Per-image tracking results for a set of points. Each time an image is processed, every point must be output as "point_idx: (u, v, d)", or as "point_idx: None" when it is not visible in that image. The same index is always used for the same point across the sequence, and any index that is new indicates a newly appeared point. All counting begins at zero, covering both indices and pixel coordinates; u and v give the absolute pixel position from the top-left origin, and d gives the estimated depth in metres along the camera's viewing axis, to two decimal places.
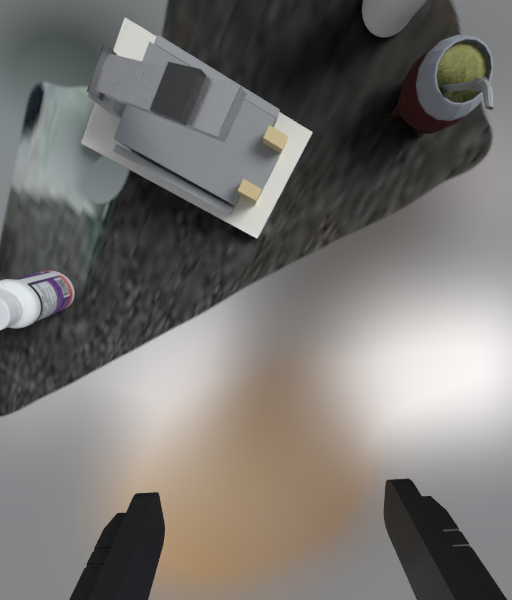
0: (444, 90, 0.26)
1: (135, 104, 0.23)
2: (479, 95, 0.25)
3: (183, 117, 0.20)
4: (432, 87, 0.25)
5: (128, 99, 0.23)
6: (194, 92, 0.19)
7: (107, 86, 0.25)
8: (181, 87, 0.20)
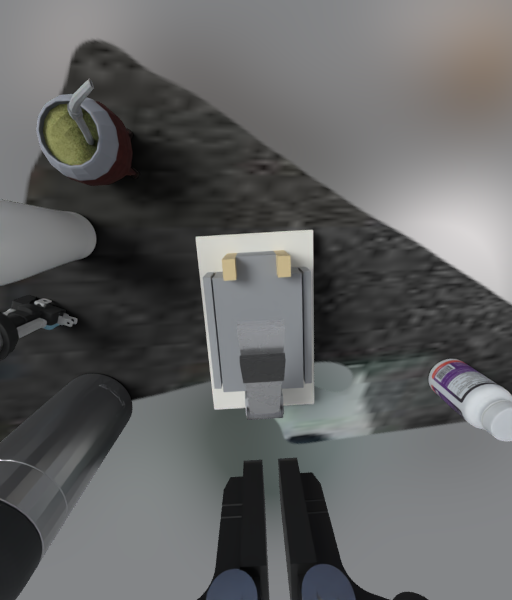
0: (92, 140, 0.24)
1: (280, 388, 0.27)
2: None
3: (280, 358, 0.21)
4: (100, 155, 0.24)
5: (278, 393, 0.27)
6: (257, 359, 0.21)
7: (274, 407, 0.30)
8: (258, 368, 0.22)
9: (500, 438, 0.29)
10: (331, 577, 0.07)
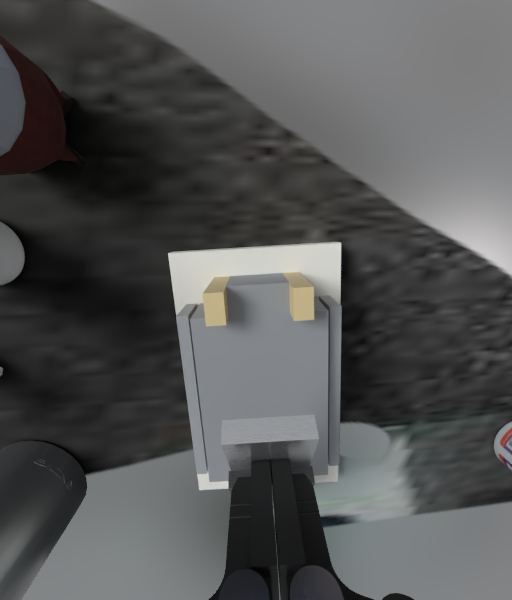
0: None
1: None
2: None
3: None
4: None
5: None
6: None
7: None
8: None
9: None
10: (320, 578, 0.07)
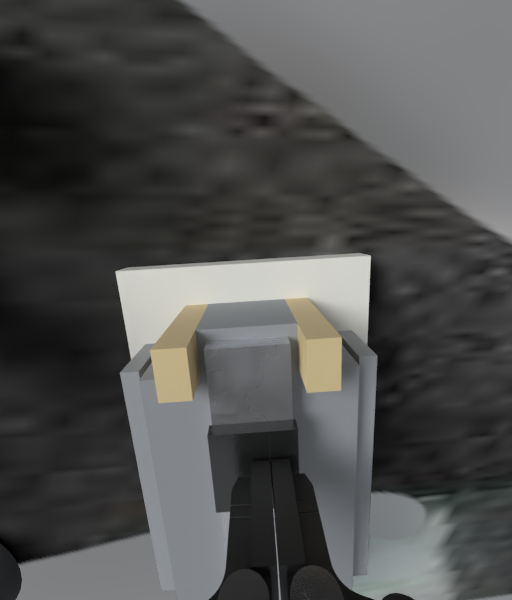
0: None
1: None
2: None
3: (288, 426, 0.11)
4: None
5: None
6: (243, 429, 0.11)
7: None
8: (246, 458, 0.11)
9: None
10: (320, 578, 0.07)
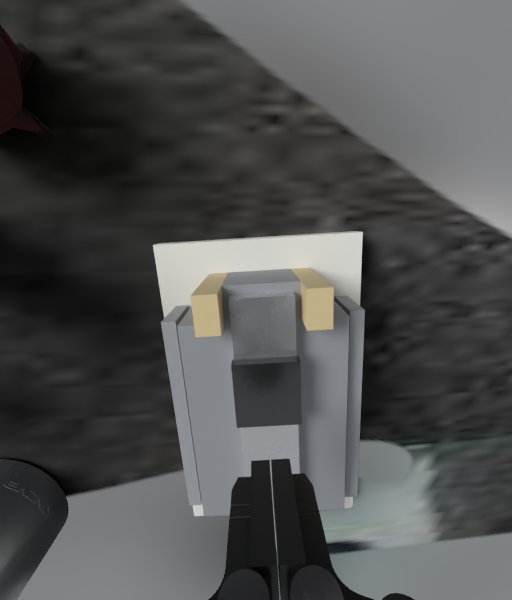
0: None
1: (298, 462, 0.16)
2: None
3: (293, 360, 0.14)
4: None
5: None
6: (258, 361, 0.14)
7: None
8: (260, 384, 0.14)
9: None
10: (320, 578, 0.07)
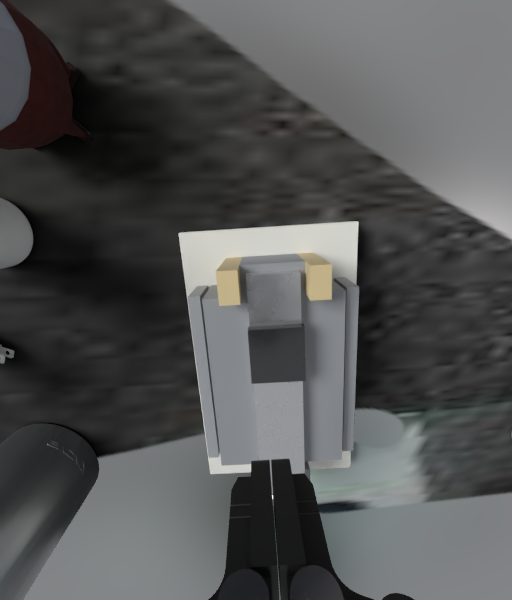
0: None
1: (302, 415, 0.19)
2: None
3: (298, 326, 0.17)
4: None
5: (300, 430, 0.20)
6: (270, 327, 0.17)
7: None
8: (271, 346, 0.17)
9: None
10: (320, 578, 0.07)
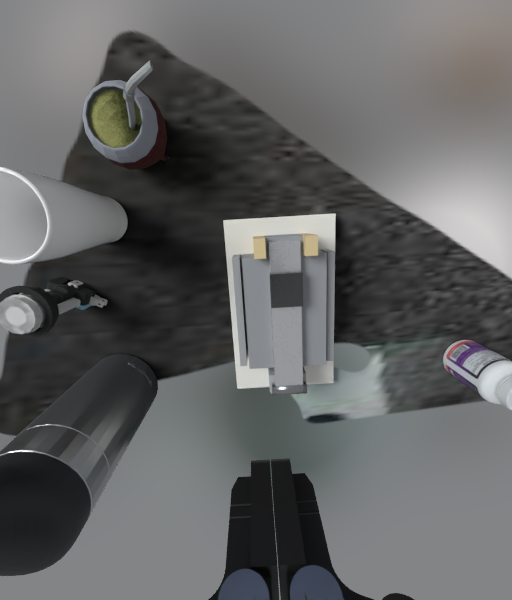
0: (135, 124, 0.25)
1: (301, 331, 0.32)
2: (117, 85, 0.24)
3: (299, 272, 0.30)
4: (142, 138, 0.25)
5: (300, 340, 0.32)
6: (282, 273, 0.30)
7: (297, 371, 0.33)
8: (283, 284, 0.30)
9: None
10: (320, 578, 0.07)
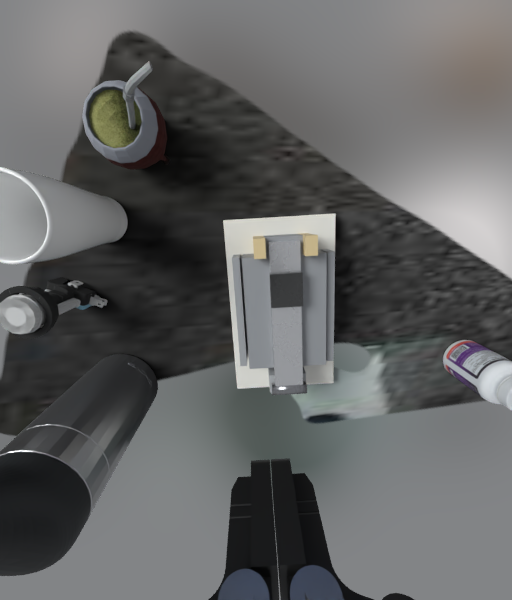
0: (135, 124, 0.25)
1: (301, 331, 0.32)
2: (117, 85, 0.24)
3: (299, 272, 0.30)
4: (142, 138, 0.25)
5: (300, 340, 0.32)
6: (282, 273, 0.30)
7: (297, 371, 0.33)
8: (283, 284, 0.30)
9: None
10: (320, 578, 0.07)
